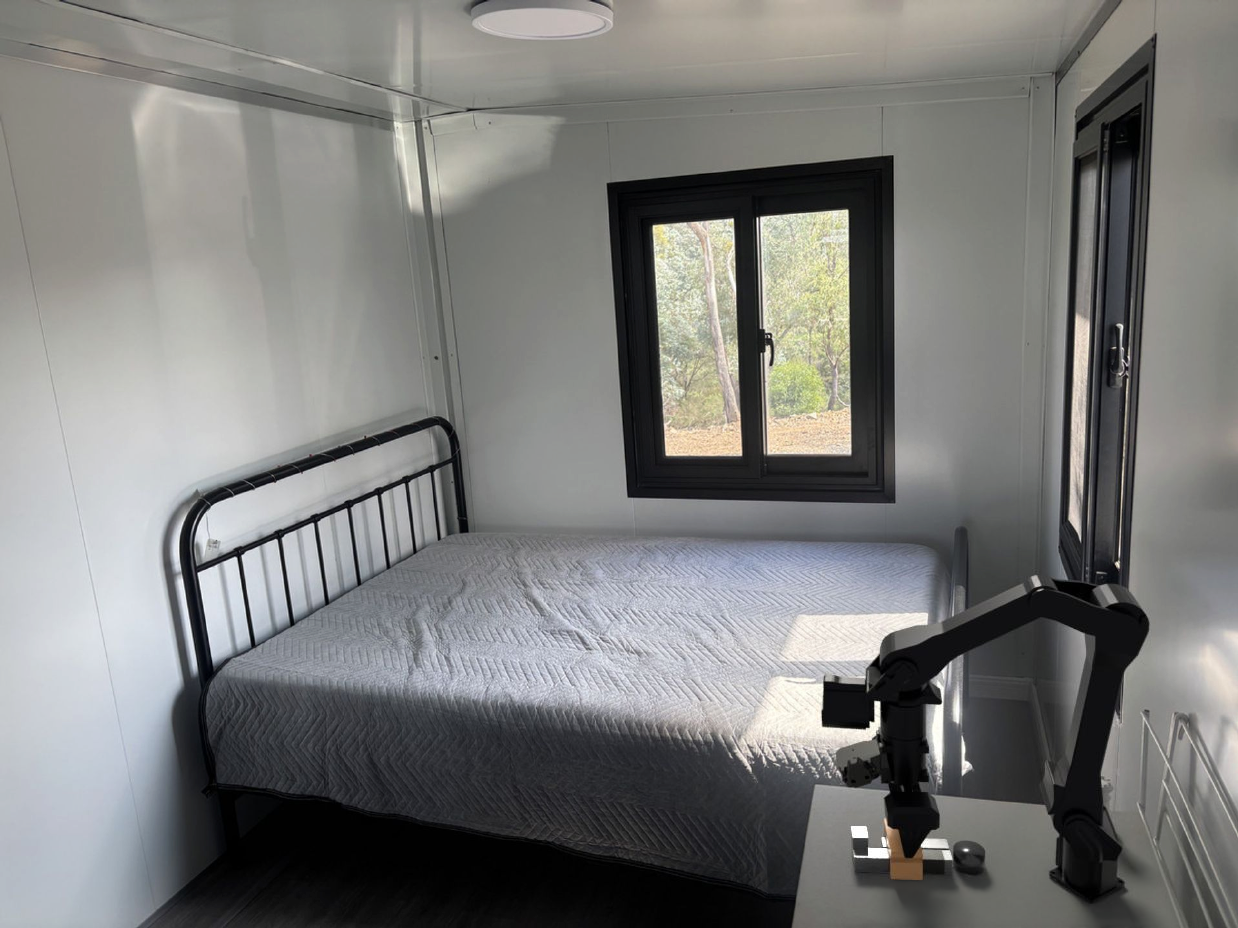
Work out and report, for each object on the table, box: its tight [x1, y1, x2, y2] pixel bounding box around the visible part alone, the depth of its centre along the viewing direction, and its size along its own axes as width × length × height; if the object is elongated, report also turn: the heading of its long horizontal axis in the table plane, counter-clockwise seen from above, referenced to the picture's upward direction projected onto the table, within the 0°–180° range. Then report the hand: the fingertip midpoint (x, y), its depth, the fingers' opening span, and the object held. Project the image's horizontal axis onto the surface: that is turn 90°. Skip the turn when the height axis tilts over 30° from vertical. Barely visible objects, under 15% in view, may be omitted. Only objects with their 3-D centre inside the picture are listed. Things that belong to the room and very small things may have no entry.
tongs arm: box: [850, 825, 954, 876], centre depth 128 cm, size 12×4×4 cm, turn 82°
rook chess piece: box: [1101, 774, 1117, 832], centre depth 131 cm, size 4×4×8 cm
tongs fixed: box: [881, 837, 986, 877], centre depth 128 cm, size 13×4×2 cm, turn 82°
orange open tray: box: [883, 817, 924, 881], centre depth 128 cm, size 4×7×4 cm, turn 172°
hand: (903, 835), depth 127 cm, fingers open, 9 cm apart
